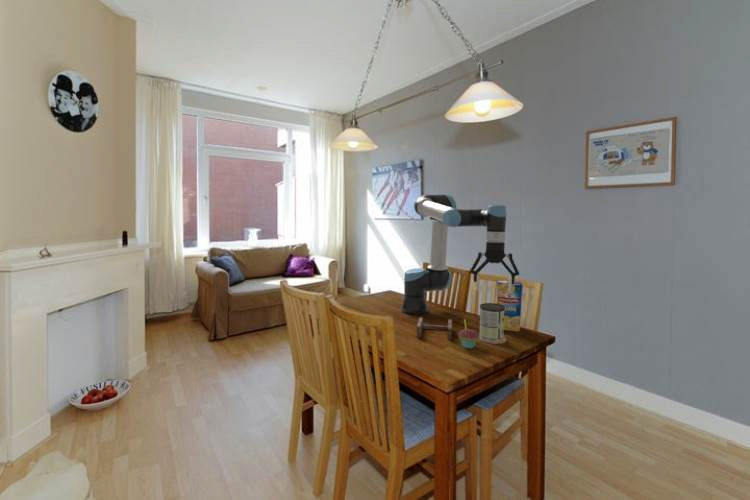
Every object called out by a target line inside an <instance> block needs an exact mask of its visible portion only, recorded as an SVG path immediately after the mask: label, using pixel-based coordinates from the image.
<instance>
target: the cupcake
mask: <svg viewBox="0 0 750 500" xmlns="http://www.w3.org/2000/svg"><path fill="white" fill-rule="evenodd" d="M463 323H464V329H462V330H460V331H458V334H457V335H458V339H460V341H461V345H462V347H463V348H465V349H473V348H475V345H476V343H477V341H480V340H479V339H480V336H479V334H480V332H479V333H478V332H477V331H476V330H475V329H472V328H468V327H467V321H466V319H465V317H463Z"/></svg>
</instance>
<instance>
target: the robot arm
mask: <svg viewBox="0 0 750 500" xmlns="http://www.w3.org/2000/svg"><path fill="white" fill-rule="evenodd" d="M413 206H414V207H413V209H414V212H415V213H416V214H417V215H418V216H421V217H425V218H426V217H427V218H428V217H429V220H430V221H431V222H432V227H431V242H430V243H431V244H430V246H431V247H430V260H429V261H430V262H429V264H428V265H427V269H425V268H423V267H418V268H417V267H416V268H411V269H407V270H406V271H405V272H404V279H403V280H404V282H403V284H404V285H403V286H404V291H403V292H404V297H403V299H402V303H401V306H400V310H401V312H403V313H405V314H408V315H409V314H411V315H421V314H425V313H426V314H427V313H428V312H429V307H428V302H427V299H426V292H436V291H439V292H441V291H445V290H448V288H449V287H450V286H451V284H452V280H453V277H452V273H451V271H450V270H449V267H448V266H447V265H446V264H447V263H446V262H447V261H446V260H447V247H448V233H449V228H457V227H486V239H485V240H486V242H485V243H486V244H485V252H481V251H479V252H477V257H476V259H475V260H474V263H473V264H472V265H471V268H470V269H469V272H470V273H469V274H472V275H473V282H474V283H475V290H476V291H479V279H480V278H479V273H480V272H481V270H483V269H484V268H485V266H486V265H488V264H489V263H490V264H500V263H501V265H503V267H504V268H505V269H506V270H507V272H508V273H509V274H510V275H508V282H509V289H508V290H509V292H511V286H512V284H514V282H515V278H516V276H519V275H520V272H519V270H518V267H517V265H516V263H515V261H514V259H513V253H511V252H508V253H505V246H506V245H505V244H506V243H505V241H506V226H507V225H506V224H507V222H506V221H507V207H506V205H504V204H503V205H501V204H499V205H498V204H497V205H496V204H492V205H491V204H490V205H488V206H487V209H482V208H477V209H460V208H459V209H458V208H457V202H456V200H455V197H453V196H451V195H450V194H422V195H420V196H419V197H418V198H417V199H416V200H415V202H414V204H413ZM484 257H485V259H484V261H483V262H482V263H481V264H480V265H479V266H478V264H479V262H480V261H481V258H482V259H483V258H484ZM504 258H507V259H508V260H509V263H510V264H511V267H512V269H513V270H512V269H511V268H510V267H509V265H508V264H506V262H505V261H504ZM477 266H478V267H477ZM476 267H477V268H476ZM513 271H514V272H513Z"/></svg>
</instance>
